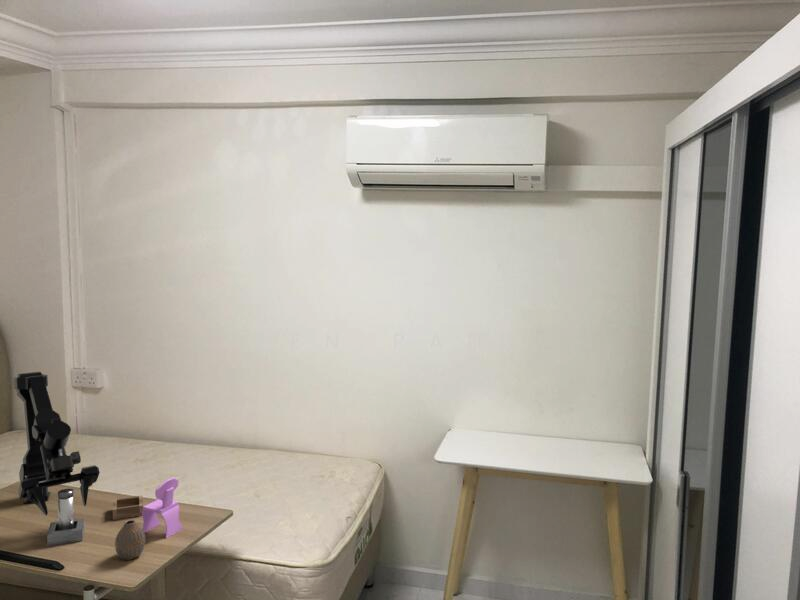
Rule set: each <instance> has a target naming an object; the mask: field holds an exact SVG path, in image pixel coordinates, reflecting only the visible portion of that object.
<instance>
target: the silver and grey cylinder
mask: <svg viewBox="0 0 800 600" xmlns="http://www.w3.org/2000/svg"><path fill="white" fill-rule="evenodd" d="M74 505H75V503H74V489H73V488H64V489H61V490H59V491H57V518H58V519H57V522H58V526H59V531H61V530H68V529H74V519H75V514H74V513H75V512H74V510H75V509H74Z"/></svg>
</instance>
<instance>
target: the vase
mask: <svg viewBox="0 0 800 600" xmlns="http://www.w3.org/2000/svg"><path fill="white" fill-rule="evenodd" d="M145 546H146V535H145V533H144V532H143V528H141V527H140V526H139V525H138V524H137V522H136V521H135V520H133V519H129V520H126V521H125V522H124V524H123V526H122V527H121V528H120V530H119V531H118V533H117V534H116V537H115V541H114V548H115V553H116V554H117V556H118V557H119V558H120V559H122V560H125V561H129V560H133V559H136V558H138V557H139V556H141V554H142V553H143V551H144V549H145Z"/></svg>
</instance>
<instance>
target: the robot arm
mask: <svg viewBox="0 0 800 600" xmlns="http://www.w3.org/2000/svg"><path fill="white" fill-rule="evenodd" d="M48 379H49V378H48V374H42V372H41V371H33V372H25V373H18V374H17V377H13V383H12V384H13V389H14V390H16V396H17V397H18V398H19V399H20V400H21V401H22V402H23V408H24V410H23V411H24V420H25V432H26V441H27V449H26V451H25V454H24V455H23V458H22V463H21V464H20V469H19V471H18V474H19V481H20V483H19V487H18V497H19V499H20V500H23V499H24V500H23V504H31V503H33V504H34V505H36V507H37V508H38V509H39V510H40V511H41V512H42V514H43V515H44V516H48V514H49V513H48V508H47V504H46V502H47V501H49V499H50V496H51V491H49V488H50V487H55V486H60V485H65V484H70V483H74V482H78V481H79V484H80V487H79V489H80V495H81V501H82V505H83V506H84V507H86V506H87V503H88V502H87V501H88V493H89V488H90V487H91V486H93V484H94V483H96V482H97V481H98V478H99V475H100V473H101V472H100V468H99V467H98V466H97V465H96V464H95V465H89V466H85V467H82V468H81V471H80V472H78V473H73V471H74V467H75V465H78V464H80V463H81V462H82V461H81V460H82V459H81V454H80V450H79V451H71V453H70V454H69V455H68V454H67V451H66V446H67V444H68V441H69V438H70V435H71V432H72V431H71V429H72V428H71V426H70V425H69V423H66V422H64V421H63V420H62V418H61V416H60V413H58V412H57V411H55V410H53V409H54V408H53V406H52V402H51V399H50V398H51V397H50V396H49V392H48V388H47V387H48V386H49V381H48ZM72 473H73V474H72Z"/></svg>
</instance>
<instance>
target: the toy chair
mask: <svg viewBox="0 0 800 600" xmlns="http://www.w3.org/2000/svg"><path fill="white" fill-rule="evenodd" d="M178 486H179V479H178V478H177V477H170V478H169V479H166V480H165V481H163V482H162V483H160V484H159V485H158V486H157V487H156V489H155V492H154V494H155V497H156V500H154V501H152V502H151V503H148V504H146V505H143V510H142V515H143V516H142V519H143V520H142V523H143V525H142V526H143V527H142V530H143V532H145V533H146V531H147V532H149V531H150V530H152V529H154V528H156V527H158V526H160V525H161V521H160V520H159V519H158V515H157V514H159V515H160V516H161V518H162V519H163V521H164V523H165V539H168V538H170V537H171V535H172V536H173V535H176V532H177V533H178V531H179V532H180V531H183V529H184V528H183V526H182V524H181V522H180V518H179V517H180V516H179V515H180V506H179V501H176V500H174V492H175V490H176V489H177V488H178ZM159 524H160V525H159ZM157 525H158V526H157ZM155 526H156V527H155ZM153 527H154V528H153ZM151 528H152V529H151ZM149 529H150V530H149ZM148 530H149V531H148ZM169 536H170V537H169Z"/></svg>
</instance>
